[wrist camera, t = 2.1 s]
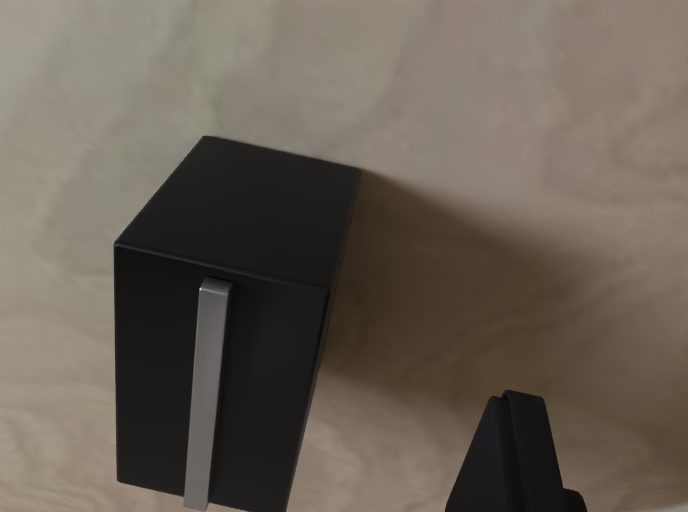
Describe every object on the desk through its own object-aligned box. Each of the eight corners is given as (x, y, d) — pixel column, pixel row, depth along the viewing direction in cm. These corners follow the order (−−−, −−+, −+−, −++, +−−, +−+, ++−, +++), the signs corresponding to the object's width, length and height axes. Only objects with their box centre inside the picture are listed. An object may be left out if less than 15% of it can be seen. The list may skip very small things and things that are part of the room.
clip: (203, 133, 12) (101, 253, 8) (362, 167, 12) (328, 304, 8) (189, 339, 15) (107, 497, 11) (319, 368, 15) (280, 537, 11)
